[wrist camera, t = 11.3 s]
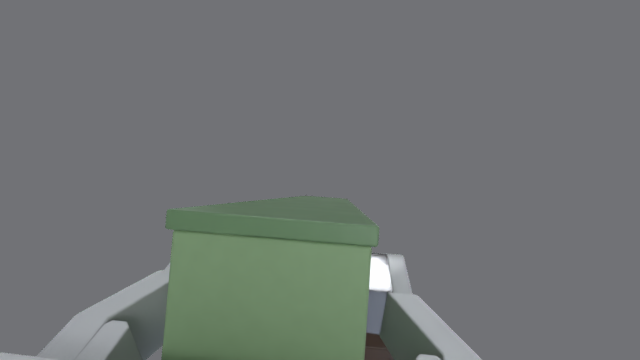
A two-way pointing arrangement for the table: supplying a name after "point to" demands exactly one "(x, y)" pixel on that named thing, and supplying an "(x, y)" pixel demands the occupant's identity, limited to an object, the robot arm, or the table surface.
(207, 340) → the storage box
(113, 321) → the robot arm
